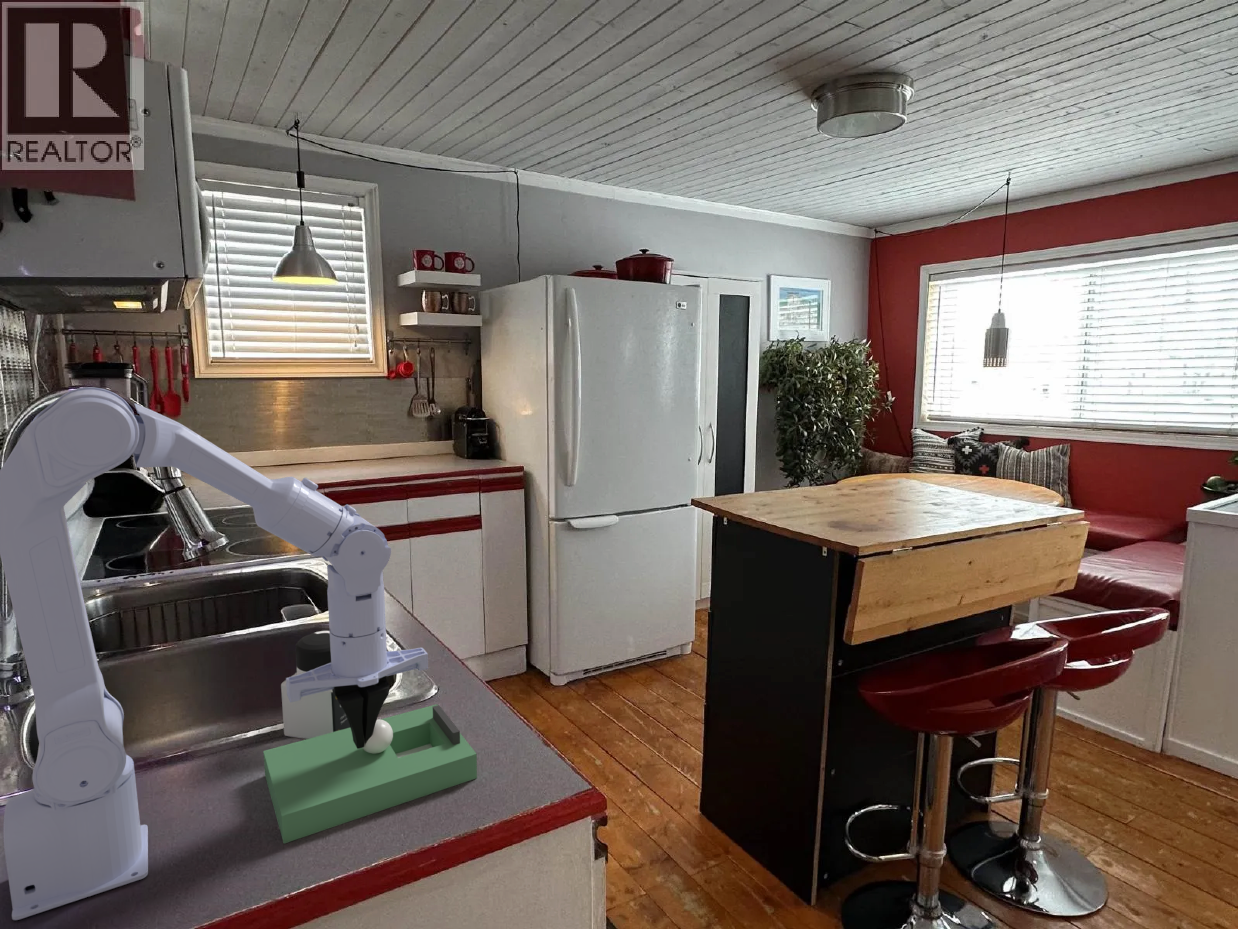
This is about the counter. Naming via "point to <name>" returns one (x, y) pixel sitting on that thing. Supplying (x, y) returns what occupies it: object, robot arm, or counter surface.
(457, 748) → the green pocketed block
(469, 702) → the counter surface
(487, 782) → the counter surface
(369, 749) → the ball
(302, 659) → the medicine bottle
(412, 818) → the counter surface
